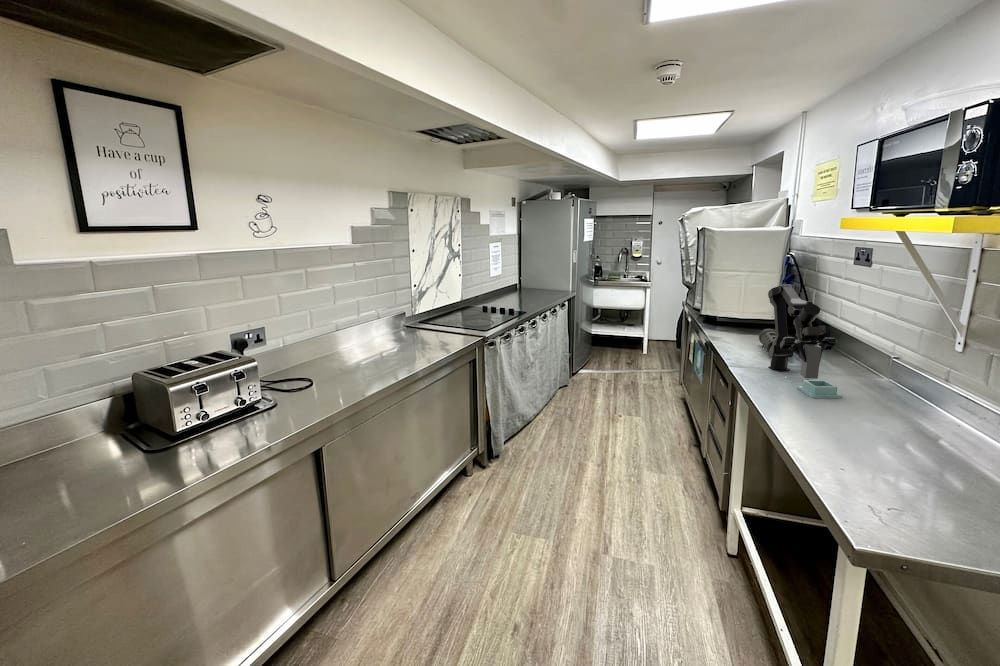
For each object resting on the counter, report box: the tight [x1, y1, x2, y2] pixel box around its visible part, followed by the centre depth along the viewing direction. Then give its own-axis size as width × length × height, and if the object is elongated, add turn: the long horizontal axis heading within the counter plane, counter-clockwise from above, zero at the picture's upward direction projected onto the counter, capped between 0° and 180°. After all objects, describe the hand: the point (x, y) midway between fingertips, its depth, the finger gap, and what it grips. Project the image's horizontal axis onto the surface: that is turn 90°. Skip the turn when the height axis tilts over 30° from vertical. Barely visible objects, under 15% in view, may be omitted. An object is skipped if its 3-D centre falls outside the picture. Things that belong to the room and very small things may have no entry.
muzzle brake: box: [758, 328, 776, 354], centre depth 239 cm, size 10×28×10 cm, turn 158°
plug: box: [800, 344, 822, 380], centre depth 179 cm, size 4×4×13 cm
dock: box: [796, 379, 843, 399], centre depth 181 cm, size 11×11×4 cm
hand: (812, 362), depth 177 cm, fingers closed on plug, 4 cm apart
